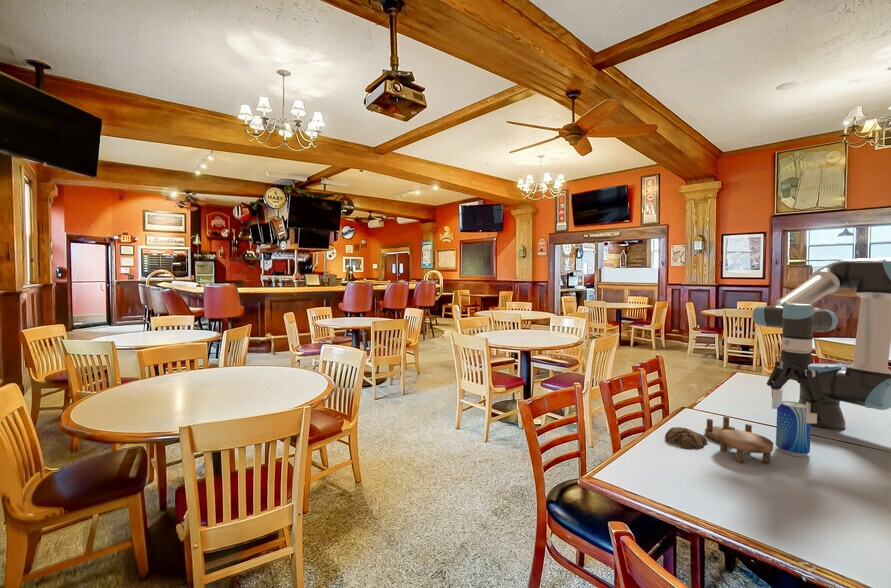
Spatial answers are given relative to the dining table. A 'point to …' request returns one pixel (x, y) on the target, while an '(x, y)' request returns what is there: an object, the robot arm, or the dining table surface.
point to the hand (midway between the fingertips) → (792, 415)
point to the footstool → (745, 444)
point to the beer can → (793, 429)
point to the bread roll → (685, 438)
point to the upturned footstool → (713, 431)
